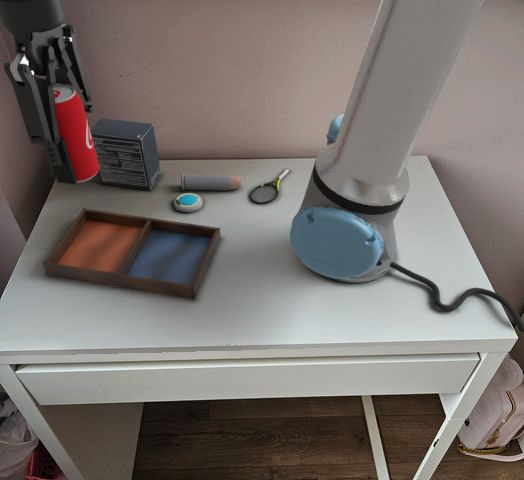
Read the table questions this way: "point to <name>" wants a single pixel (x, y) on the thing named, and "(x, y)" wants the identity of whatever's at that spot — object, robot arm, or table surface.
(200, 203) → the button
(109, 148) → the small box
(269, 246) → the table surface
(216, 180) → the grey two-tone cylinder
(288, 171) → the tennis racket
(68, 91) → the beverage can
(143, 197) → the table surface
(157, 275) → the sorting tray
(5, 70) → the robot arm
